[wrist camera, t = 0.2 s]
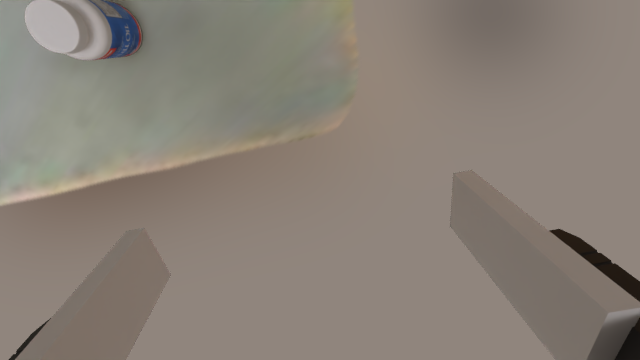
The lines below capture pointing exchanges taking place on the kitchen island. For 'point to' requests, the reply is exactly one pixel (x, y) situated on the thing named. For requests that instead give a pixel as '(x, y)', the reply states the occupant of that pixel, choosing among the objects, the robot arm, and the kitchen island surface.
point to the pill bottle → (83, 28)
